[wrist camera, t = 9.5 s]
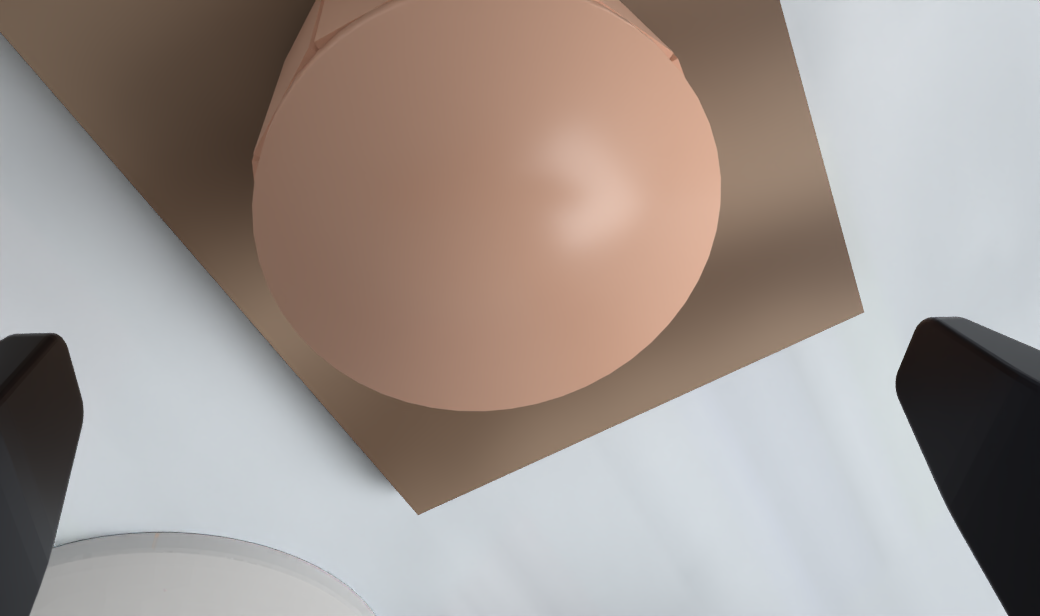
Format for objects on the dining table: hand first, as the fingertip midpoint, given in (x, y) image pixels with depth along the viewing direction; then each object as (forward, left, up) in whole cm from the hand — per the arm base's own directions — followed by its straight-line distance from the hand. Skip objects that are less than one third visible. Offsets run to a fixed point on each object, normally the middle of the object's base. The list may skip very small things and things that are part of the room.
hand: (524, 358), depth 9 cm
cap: (0, 0, -7) cm, 7 cm away
